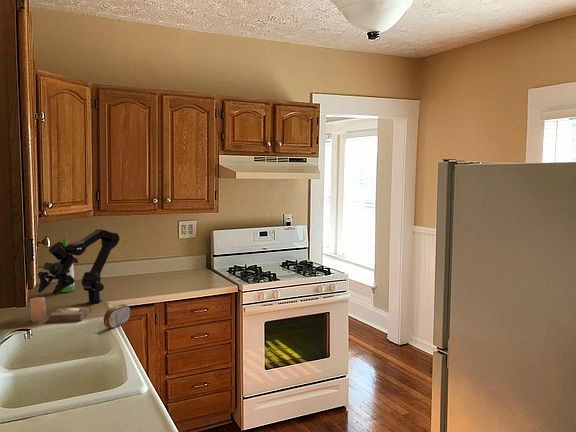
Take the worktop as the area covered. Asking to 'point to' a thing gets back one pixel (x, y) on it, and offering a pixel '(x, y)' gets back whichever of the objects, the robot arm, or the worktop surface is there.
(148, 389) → the worktop surface
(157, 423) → the worktop surface
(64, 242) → the wine bottle
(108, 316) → the tin
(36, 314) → the column
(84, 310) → the base
